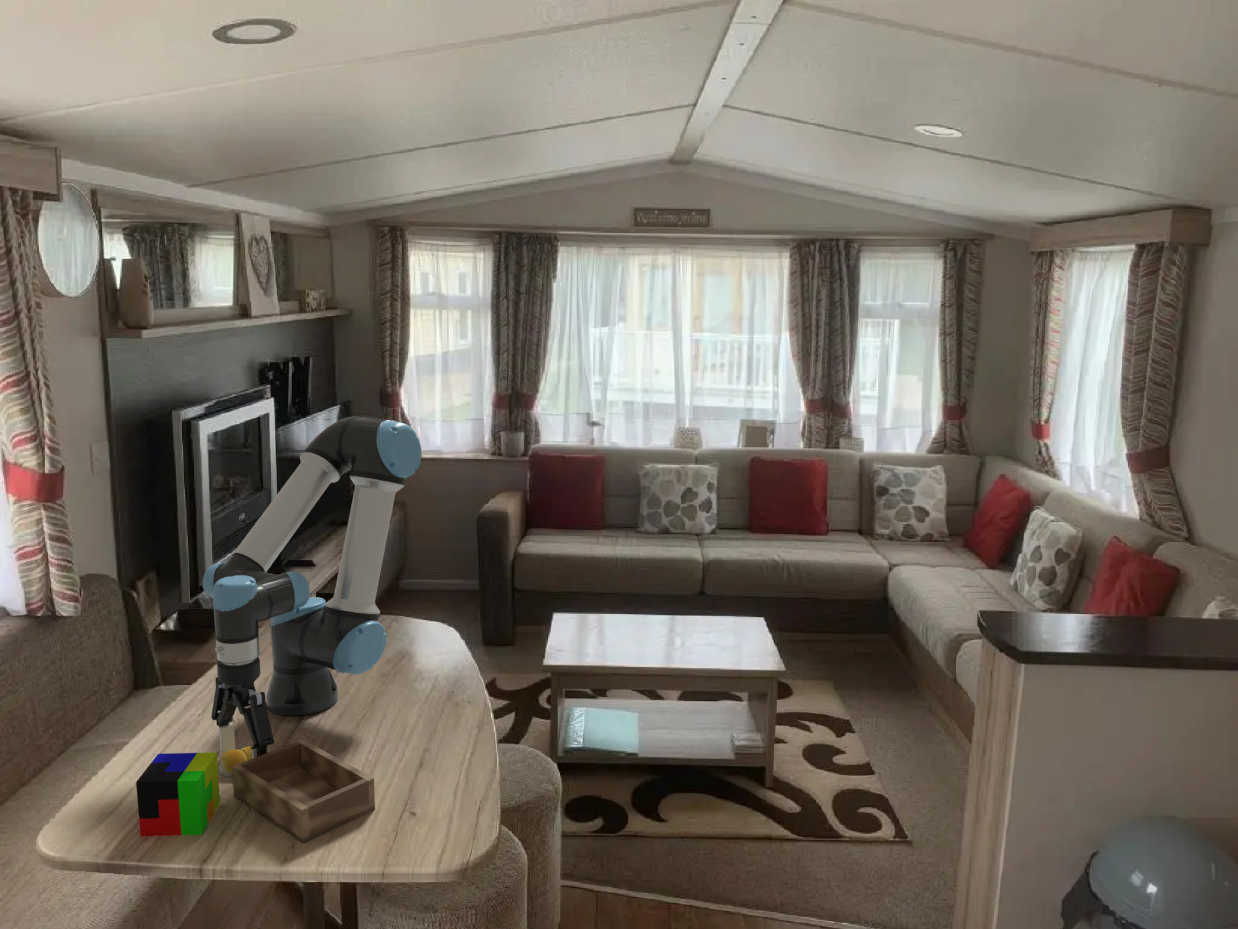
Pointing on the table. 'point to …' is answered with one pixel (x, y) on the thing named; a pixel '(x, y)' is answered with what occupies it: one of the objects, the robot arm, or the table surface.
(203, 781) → the puzzle toy
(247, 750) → the bread roll
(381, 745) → the table surface
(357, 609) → the robot arm
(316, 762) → the wooden box
